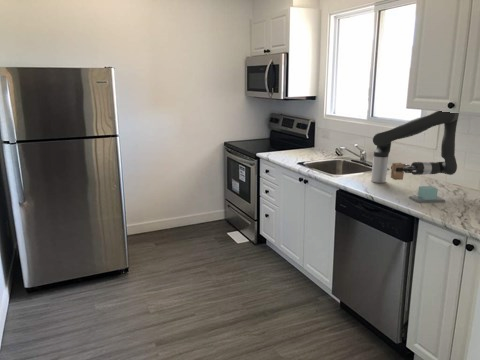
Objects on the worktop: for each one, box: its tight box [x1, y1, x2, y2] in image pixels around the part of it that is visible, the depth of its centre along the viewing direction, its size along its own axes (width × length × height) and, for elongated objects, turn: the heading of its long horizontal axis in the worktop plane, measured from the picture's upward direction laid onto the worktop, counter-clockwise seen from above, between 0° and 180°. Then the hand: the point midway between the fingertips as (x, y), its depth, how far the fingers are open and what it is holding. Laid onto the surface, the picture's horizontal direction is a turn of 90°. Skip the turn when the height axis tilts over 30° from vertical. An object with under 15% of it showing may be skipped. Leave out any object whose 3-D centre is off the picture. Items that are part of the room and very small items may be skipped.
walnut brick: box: [390, 162, 406, 181], centre depth 227 cm, size 5×5×9 cm
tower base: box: [408, 185, 446, 204], centre depth 219 cm, size 9×16×7 cm, turn 96°
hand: (393, 168), depth 226 cm, fingers closed on walnut brick, 5 cm apart
